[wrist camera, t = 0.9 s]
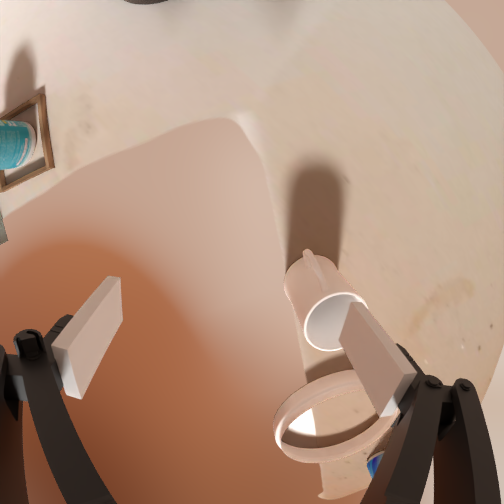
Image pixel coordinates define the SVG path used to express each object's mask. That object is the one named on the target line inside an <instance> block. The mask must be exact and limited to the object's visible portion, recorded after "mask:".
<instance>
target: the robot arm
mask: <svg viewBox="0 0 504 504" xmlns="http://www.w3.org/2000/svg"><path fill="white" fill-rule="evenodd" d="M124 1H127V2H130V3H134V4H154V3H159V2H164V1H167V0H124ZM120 283H121V281H120V277H113V276H107V277H106V279H105V280H104V281H103V282H102V283H101V284H100V285H99V287H98V288H97V289H96V290H95V291H94V292H93V294H92V295H91V296H90V297H89V298H88V300H87V301H86V302H85V303H84V304H83V306H82V307H81V308H80V309H79V310H78V312H77V313H76V314H75V315H74V316H72V315H68V314H67V315H66V316H64V317H62V318H60V319H59V320H58V321H57V322H56V323H55V325H54V326H53V327H52V328H51V330H50V331H49V332H48V333H47V334H46V336H45V337H44V338H43V337H42V335H41V333H40V332H38V331H37V330H33V329H26V330H23V331H20V332H19V333H18V334H16V336H15V337H14V341H13V342H14V345H15V348H16V351H17V354H18V355H12V354H6V352H5V349H4V347H3V346H2V345H0V504H29V502H28V495H27V488H26V480H25V471H24V459H23V438H22V411H23V401H28V403H29V407H30V410H31V414H32V417H33V421H34V424H35V427H36V431H37V434H38V437H39V440H40V442H41V445H42V448H43V451H44V453H45V456H46V459H47V461H48V464H49V466H50V469H51V471H52V473H53V475H54V478H55V480H56V482H57V484H58V486H59V489H60V491H61V493H62V495H63V497H64V499H65V501H66V503H67V504H117V503H116V501H115V500H114V498H113V497H112V495H111V494H110V492H109V491H108V489H107V488H106V486H105V485H104V483H103V481H102V479H101V478H100V476H99V474H98V473H97V471H96V469H95V467H94V465H93V464H92V462H91V460H90V458H89V456H88V454H87V453H86V451H85V449H84V447H83V445H82V443H81V440H80V439H79V437H78V435H77V432H76V430H75V428H74V426H73V423H72V421H71V419H70V416H69V414H68V412H67V409H66V407H65V404H64V402H63V399H62V397H61V394H60V391H61V389H62V387H63V386H64V389H65V392H66V395H68V396H72V397H75V398H78V399H82V398H83V395H84V393H85V391H86V389H87V387H88V385H89V383H90V381H91V379H92V377H93V375H94V373H95V371H96V369H97V367H98V365H99V363H100V361H101V359H102V357H103V356H104V354H105V352H106V350H107V348H108V346H109V344H110V342H111V341H112V339H113V337H114V335H115V333H116V331H117V330H118V328H119V326H120V324H121V322H122V321H123V317H122V302H121V284H120ZM339 342H340V344H341V346H342V348H343V350H344V351H345V353H346V355H347V357H348V359H349V361H350V362H351V364H352V366H353V368H354V370H355V372H356V374H357V376H358V377H359V379H360V381H361V383H362V385H363V387H364V389H365V391H366V393H367V395H368V397H369V398H370V400H371V402H372V404H373V406H374V408H375V410H376V412H377V414H378V416H379V417H385V416H391V415H393V413H394V412H395V410H396V408H397V407H398V408H399V409H400V411H401V412H400V414H399V415H398V417H397V418H396V420H395V421H394V423H393V424H392V426H391V427H392V428H393V427H394V428H393V431H392V434H391V436H390V439H389V441H388V444H387V447H386V449H385V451H384V454H383V456H382V459H381V461H380V463H379V466H378V468H377V470H376V472H375V474H374V477H373V479H372V481H371V483H370V485H369V487H368V489H367V491H366V493H365V495H364V497H363V499H362V501H361V503H360V504H420V501H421V498H422V495H423V492H424V488H425V485H426V481H427V477H428V473H429V470H430V466H431V461H432V457H433V460H434V504H501V498H500V490H499V482H498V476H497V470H496V465H495V460H494V455H493V450H492V445H491V441H490V437H489V433H488V429H487V425H486V422H485V418H484V414H483V411H482V408H481V404H480V401H479V398H478V395H477V392H476V389H475V387H474V385H473V384H472V383H471V382H470V381H468V380H467V379H462V378H459V379H457V380H456V381H455V383H454V385H453V386H445V385H443V383H442V382H441V381H440V380H439V379H438V378H436V377H435V376H432V375H425V374H424V373H423V371H422V370H421V369H420V367H419V366H418V365H417V364H416V362H415V361H413V358H412V357H411V356H409V353H408V352H407V351H406V350H405V348H403V347H402V346H400V345H399V344H395V343H394V341H393V340H392V339H391V338H390V336H389V335H388V334H387V333H386V331H385V330H384V329H383V328H382V326H381V325H380V324H379V322H378V321H377V320H376V319H375V318H374V316H373V315H372V314H371V313H370V311H369V310H368V309H367V308H366V306H365V305H364V304H363V303H362V302H351V303H350V306H349V310H348V313H347V316H346V319H345V322H344V325H343V328H342V331H341V334H340V337H339Z"/></svg>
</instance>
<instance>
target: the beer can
mask: <svg viewBox="0 0 504 504" xmlns="http://www.w3.org/2000/svg"><path fill="white" fill-rule="evenodd" d="M384 451H385V450H384ZM384 451H380V452H378V453H376V454H374V455H373V456H371V457H370V458H369V459H368V463H367V467H368V470H369V472H370V475H371V477H372V479H373V477H374V474H375V472H376V470H377V468H378V466H379V463H380V461H381V459H382V456H383V454H384Z"/></svg>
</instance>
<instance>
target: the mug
mask: <svg viewBox="0 0 504 504" xmlns="http://www.w3.org/2000/svg"><path fill="white" fill-rule="evenodd" d="M284 290H285V293H286V296H287V297H288V299H289V300H290V301H291V304H292V306H293V309H294V311H295V313H296V316H297V318H298V321H299V323H300V325H301V328H302V330H303V333H304V335H305V337H306V339H307V341H308V342H309V343H310V344H311V345H312V346H313V347H315V348H317V349H319V350H323V351H334V350H339V349H342V346H341V344H340V342H339V337H340V334H341V331H342V328H343V325H344V322H345V319H346V316H347V313H348V310H349V306H350V303H351V302H362V303H363V304H364V305H365V306H366V308H367V309H368V306H367V304H366V302H365V301H364V299H363V298H362V297H361V296H360V295H359V294H358V292H357V291H356V290H355V289H354V288H353V287H352V286H351V285H350V283H349V282H348V281H347V280H346V279H345V278H344V277H343V276H342V275H341V273H340V272H339V271H338V270H337V268H336V266H335V265H334V263H333V262H332V261H331V260H329V259H328V258H326V257H324V256H320V255H314V254H313V253H312V251H311V250H309V249H305V250H304V251H303V257H302V258H300V259H299V260H297V261H296V262H294V263H293V264H292V265H291V266H290V268H289V269H288V271H287V273H286V275H285V278H284Z"/></svg>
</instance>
